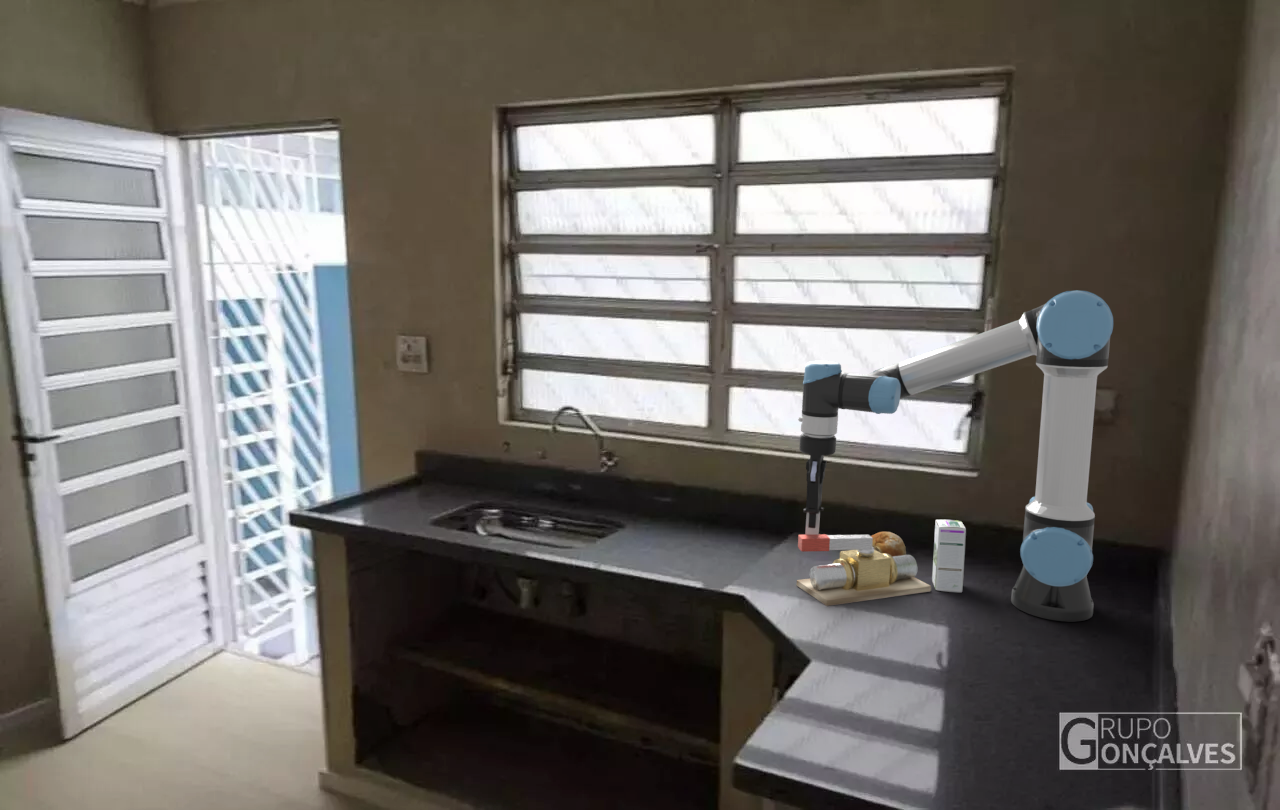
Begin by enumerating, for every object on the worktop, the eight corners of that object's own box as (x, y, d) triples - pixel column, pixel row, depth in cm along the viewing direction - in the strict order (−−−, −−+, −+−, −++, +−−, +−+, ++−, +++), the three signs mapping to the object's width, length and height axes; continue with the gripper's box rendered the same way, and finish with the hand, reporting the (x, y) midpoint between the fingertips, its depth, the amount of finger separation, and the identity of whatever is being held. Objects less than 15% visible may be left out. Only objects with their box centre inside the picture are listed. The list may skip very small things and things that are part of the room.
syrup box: (963, 593, 177) (968, 527, 175) (934, 590, 178) (938, 525, 176) (958, 583, 182) (963, 520, 180) (930, 581, 184) (934, 518, 181)
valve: (899, 575, 186) (901, 544, 185) (919, 586, 179) (921, 554, 178) (806, 587, 178) (808, 555, 177) (824, 599, 171) (826, 565, 170)
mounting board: (930, 591, 178) (931, 585, 177) (826, 606, 169) (827, 600, 169) (895, 572, 189) (896, 567, 188) (796, 585, 180) (796, 580, 180)
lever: (870, 550, 179) (871, 532, 179) (876, 556, 176) (877, 538, 175) (797, 552, 178) (797, 534, 177) (801, 557, 174) (802, 539, 174)
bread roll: (902, 578, 195) (919, 549, 194) (864, 560, 195) (881, 531, 193) (891, 564, 205) (906, 536, 204) (854, 546, 204) (870, 518, 203)
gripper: (804, 427, 182) (798, 529, 186) (796, 438, 170) (789, 547, 174) (839, 430, 179) (831, 533, 184) (833, 441, 167) (826, 552, 171)
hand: (811, 540), depth 179 cm, fingers closed
